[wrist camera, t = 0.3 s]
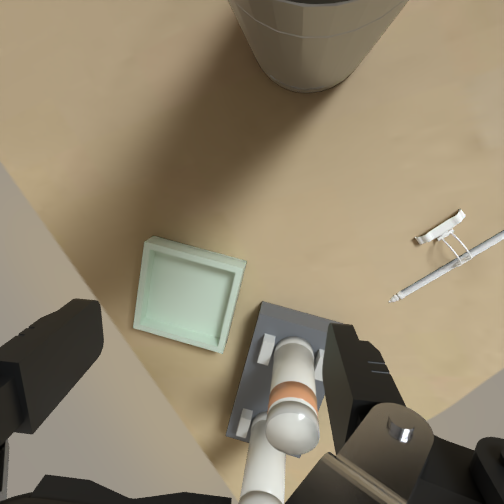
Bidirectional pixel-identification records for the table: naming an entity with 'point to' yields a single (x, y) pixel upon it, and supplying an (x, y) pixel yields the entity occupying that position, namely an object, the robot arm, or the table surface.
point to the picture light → (460, 260)
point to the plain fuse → (263, 468)
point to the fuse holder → (262, 358)
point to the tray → (187, 293)
